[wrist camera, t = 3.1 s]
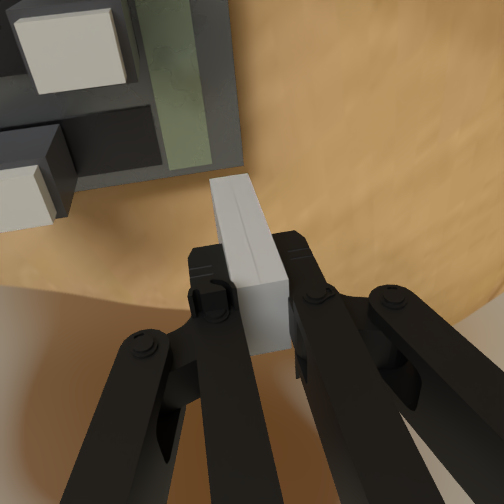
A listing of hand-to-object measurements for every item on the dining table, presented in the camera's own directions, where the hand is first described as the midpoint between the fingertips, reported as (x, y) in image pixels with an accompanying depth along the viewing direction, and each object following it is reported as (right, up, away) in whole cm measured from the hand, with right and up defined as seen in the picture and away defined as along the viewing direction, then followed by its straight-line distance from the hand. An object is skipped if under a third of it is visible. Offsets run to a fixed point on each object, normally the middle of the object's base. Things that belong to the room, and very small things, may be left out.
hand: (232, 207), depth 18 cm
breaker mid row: (-7, +8, +2) cm, 11 cm away
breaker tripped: (-11, +3, +5) cm, 12 cm away
